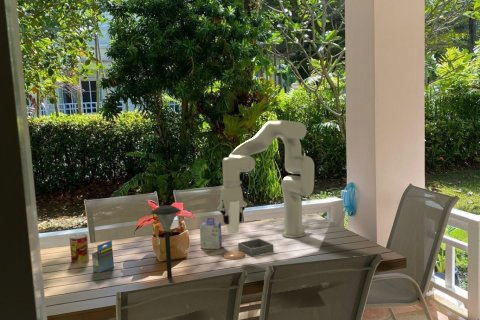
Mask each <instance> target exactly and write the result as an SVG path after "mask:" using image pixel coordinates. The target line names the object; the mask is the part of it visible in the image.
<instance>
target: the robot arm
mask: <svg viewBox="0 0 480 320" xmlns="http://www.w3.org/2000/svg"><path fill="white" fill-rule="evenodd" d="M306 135H307V127H306V125H305V124H304V123H302V122H300V121H291V120H285V119H284V120H283V119H272V120H268V121H267V122H265V123H264V125H263V126H262V127H261V128H260V129H259V131H257V133H255V135H254V136H253V137H252V138H250V139H248V140H246V141H245V142H243V143H241V144H239V145H238V146H237V147H236V148H235V149H233V151H231V153H230V154H229V155H228V157H223V159H222V178H223V182H222V183H223V185H222V186H223V187H221V189H220V190H221V191H220V203H219V205H218V206H217V207H216V210H218V212H220V214H221V215H222V217H223V222H224V224H225V225H227V224H229V217H228V216H227V214H228V210H229V208H230V202H234V201H238V200H239V204H240V214H239V223H241V222H243V221H242V219H243V212H244V211H245V209H246V207H247V205H248V203H247V202H246V201H245V200H244V195H243V190H242V187H241V184H243V182H242V181H243V180H241V179H240V173H242V172H243V173H248V172H251V171H252V170H254V168H255V166H256V160H255V159H254V157H252V155H256V154H260V153H262V152H264V151H266V150H268V148H269V147H270V146H271V144H272V143H273V142H274V141H275V140H276V139H277V138H280V139H281V141H282V142H283V144H284V169H285V172H287V173H290V174H295V175H286V176H284V178H283V179H281V185H280V186H281V191H282V195H283V224H284V229H283V230H282V231H281V236H283V237H285V238H289V239H295V238H296V239H297V238H302V237H304V236H306V231H305V230H308V229H310V225H309V224H308V225H307V224H306V225H304V224H303V202H302V198H301V196H302V197H309V196H311V194H312V193H313V192H314V186H315V163H314V160H313V158H311V157H310V156H309V155H302V144H301V141H300V140H303V139H304V138H305V136H306ZM297 174H298V175H300V176H297ZM225 210H226V211H225Z"/></svg>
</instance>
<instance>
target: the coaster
mask: <svg viewBox="0 0 480 320" xmlns="http://www.w3.org/2000/svg"><path fill="white" fill-rule="evenodd" d="M245 257H246V254H245V253H243V252H241V251H239V250H231V251H227V252H225V253H223V258H224V259H227V260H241V259H242V258H243V259H244V258H245Z"/></svg>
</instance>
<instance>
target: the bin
mask: <svg viewBox="0 0 480 320" xmlns="http://www.w3.org/2000/svg"><path fill="white" fill-rule="evenodd" d="M237 247H238V248H237V251H240V252H243V253H245V255H247V256H250V257H256V256H260V255H265V254H269V253H274V244H273V243H271V242H268V241H266V240H264V239H262V238H255V239H250V240H246V241H241V242H238V244H237Z"/></svg>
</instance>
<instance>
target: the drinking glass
mask: <svg viewBox="0 0 480 320" xmlns="http://www.w3.org/2000/svg"><path fill="white" fill-rule="evenodd" d="M225 211H226V210H225ZM239 214H240V204H239V200H238V201H234V202H230V208H229V210H228V214H227V216H228V217H229V224H226V228H227V233H230V234H237V233H238V232H240V222H239Z"/></svg>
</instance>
